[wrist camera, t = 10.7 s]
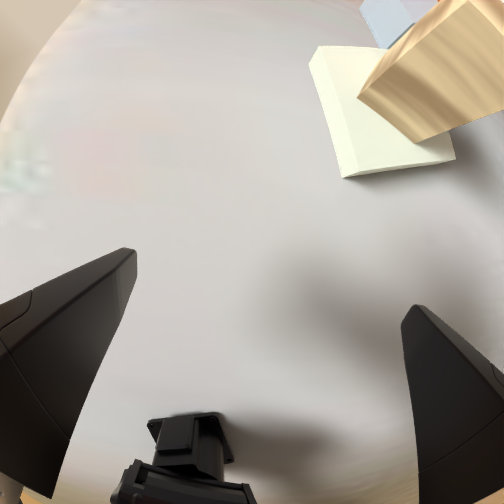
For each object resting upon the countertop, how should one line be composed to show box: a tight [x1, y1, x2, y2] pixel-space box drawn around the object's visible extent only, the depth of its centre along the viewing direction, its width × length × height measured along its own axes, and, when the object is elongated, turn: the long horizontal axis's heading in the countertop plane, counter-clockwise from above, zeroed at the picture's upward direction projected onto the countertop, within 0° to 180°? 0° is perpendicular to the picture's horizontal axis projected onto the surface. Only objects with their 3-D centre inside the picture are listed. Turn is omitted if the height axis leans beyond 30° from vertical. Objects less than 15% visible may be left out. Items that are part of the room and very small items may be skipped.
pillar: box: [357, 0, 504, 144], centre depth 12 cm, size 4×6×12 cm
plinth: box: [309, 46, 456, 178], centre depth 19 cm, size 10×10×4 cm
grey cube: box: [359, 0, 438, 49], centre depth 17 cm, size 6×6×6 cm
